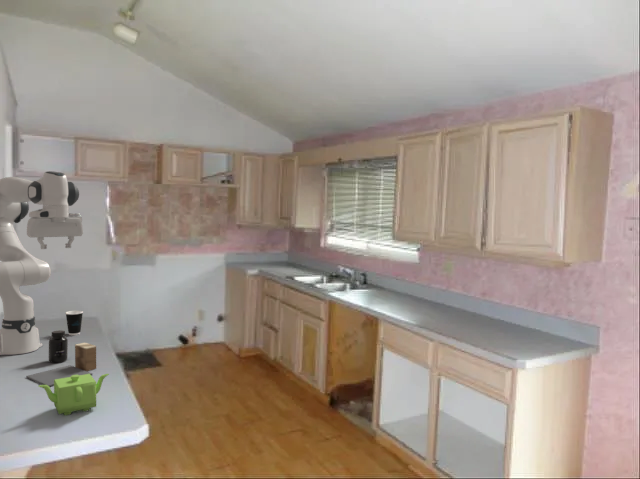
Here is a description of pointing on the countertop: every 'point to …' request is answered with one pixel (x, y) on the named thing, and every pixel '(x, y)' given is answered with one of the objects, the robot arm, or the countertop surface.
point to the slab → (85, 356)
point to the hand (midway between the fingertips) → (56, 248)
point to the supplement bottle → (58, 347)
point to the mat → (56, 375)
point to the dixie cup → (74, 322)
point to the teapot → (74, 393)
